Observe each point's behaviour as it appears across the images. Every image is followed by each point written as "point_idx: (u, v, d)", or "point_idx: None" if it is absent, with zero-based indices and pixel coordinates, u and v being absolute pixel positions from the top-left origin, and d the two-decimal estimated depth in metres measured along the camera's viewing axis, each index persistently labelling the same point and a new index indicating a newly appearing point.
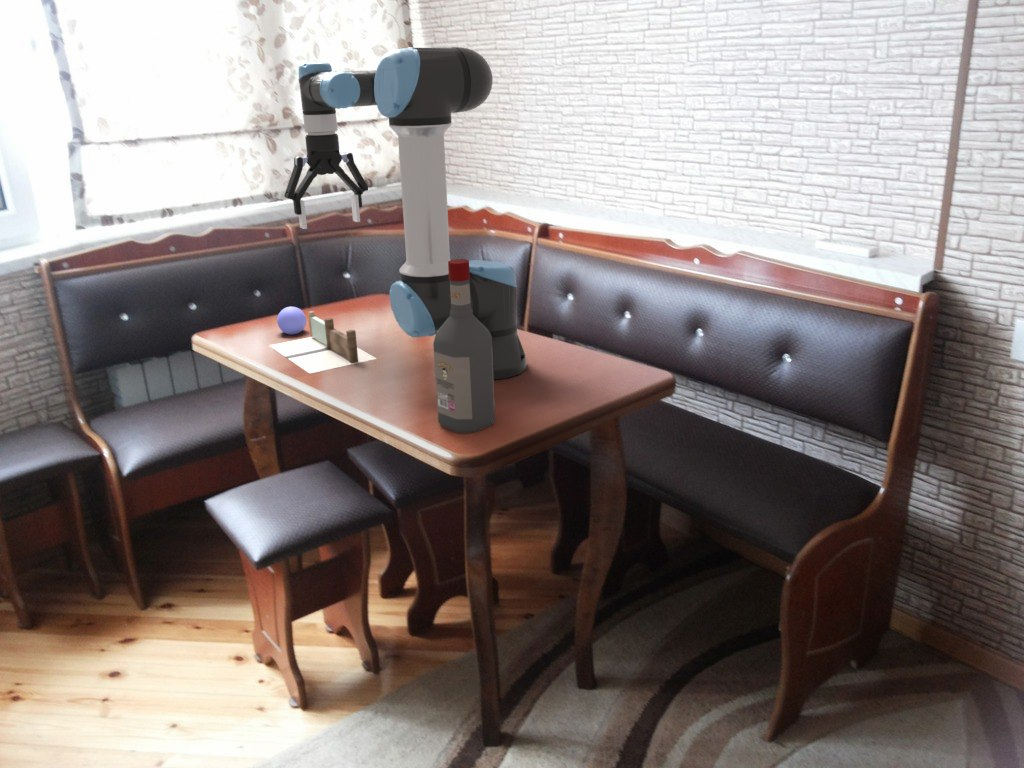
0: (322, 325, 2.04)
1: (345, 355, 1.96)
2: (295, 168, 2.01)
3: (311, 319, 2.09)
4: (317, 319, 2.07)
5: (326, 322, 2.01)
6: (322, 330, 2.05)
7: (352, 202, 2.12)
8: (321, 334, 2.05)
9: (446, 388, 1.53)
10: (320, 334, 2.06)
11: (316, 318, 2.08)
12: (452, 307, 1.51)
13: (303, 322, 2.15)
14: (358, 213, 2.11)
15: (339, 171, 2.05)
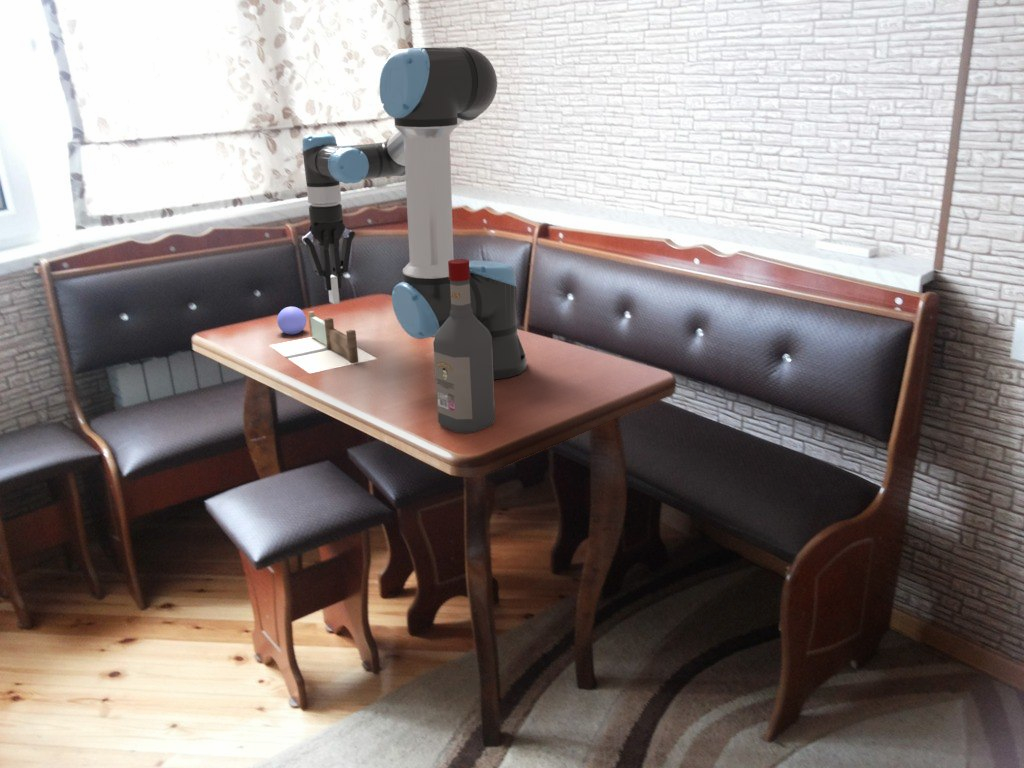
0: (322, 325, 2.04)
1: (345, 355, 1.96)
2: (308, 248, 2.02)
3: (311, 319, 2.09)
4: (317, 319, 2.07)
5: (326, 322, 2.01)
6: (322, 330, 2.05)
7: None
8: (321, 334, 2.05)
9: (446, 388, 1.53)
10: (320, 334, 2.06)
11: (316, 318, 2.08)
12: (452, 307, 1.51)
13: (303, 322, 2.15)
14: (337, 295, 2.08)
15: (335, 244, 2.04)
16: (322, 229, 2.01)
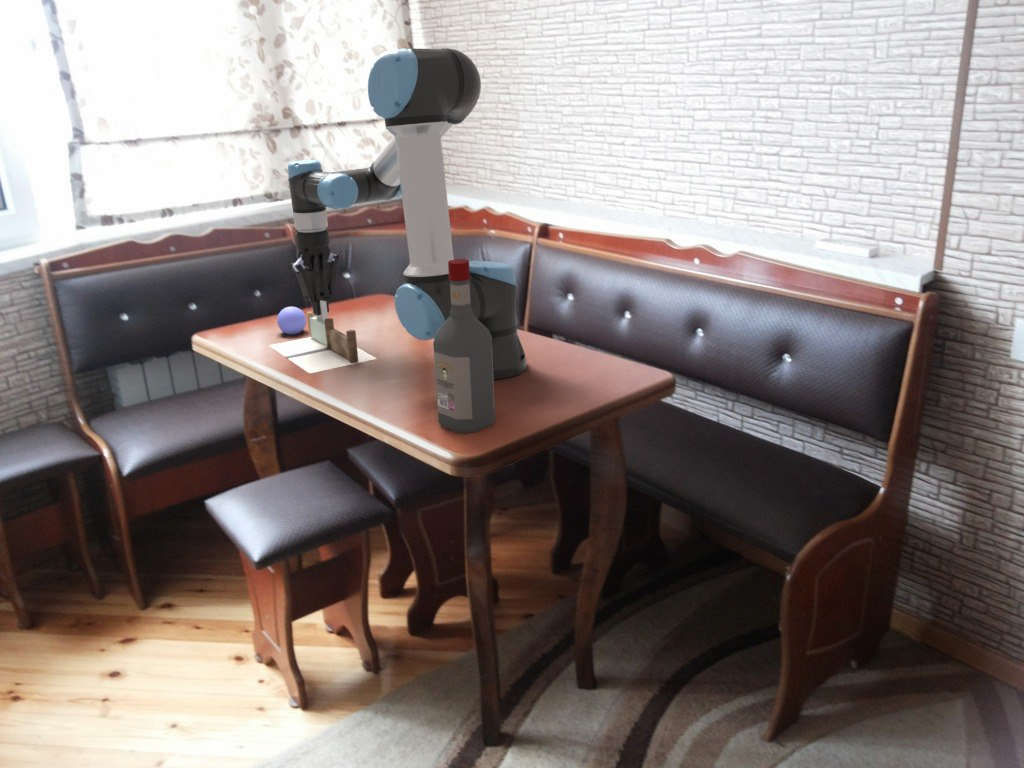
0: (322, 325, 2.04)
1: (345, 355, 1.96)
2: (299, 274, 2.01)
3: (310, 319, 2.09)
4: (316, 319, 2.07)
5: (326, 322, 2.01)
6: (322, 330, 2.04)
7: None
8: (321, 334, 2.05)
9: (446, 388, 1.53)
10: (320, 335, 2.06)
11: (315, 318, 2.08)
12: (452, 307, 1.51)
13: (303, 322, 2.15)
14: None
15: (324, 268, 2.04)
16: (312, 254, 2.01)
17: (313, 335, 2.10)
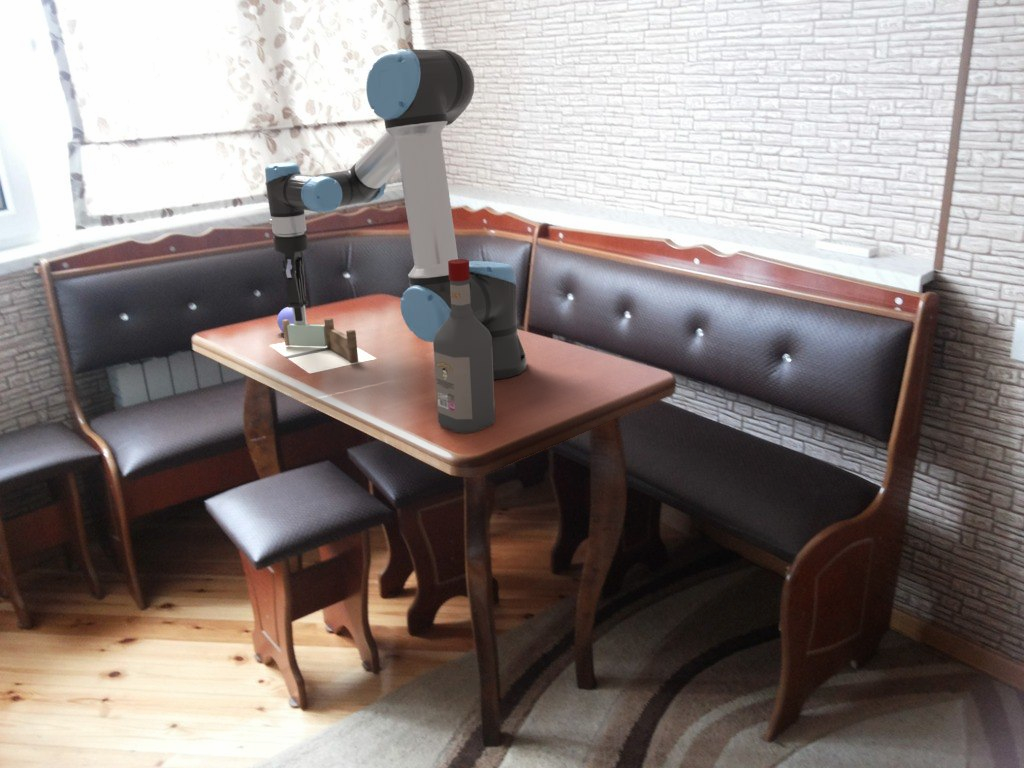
0: (317, 328, 2.02)
1: (345, 355, 1.96)
2: (290, 280, 1.96)
3: (289, 327, 2.03)
4: (301, 325, 2.03)
5: (326, 322, 2.01)
6: (316, 333, 2.02)
7: None
8: (314, 337, 2.03)
9: (446, 388, 1.53)
10: (311, 339, 2.03)
11: (297, 324, 2.03)
12: (452, 307, 1.51)
13: None
14: (306, 323, 2.05)
15: (302, 272, 2.01)
16: (296, 259, 1.98)
17: (294, 342, 2.04)
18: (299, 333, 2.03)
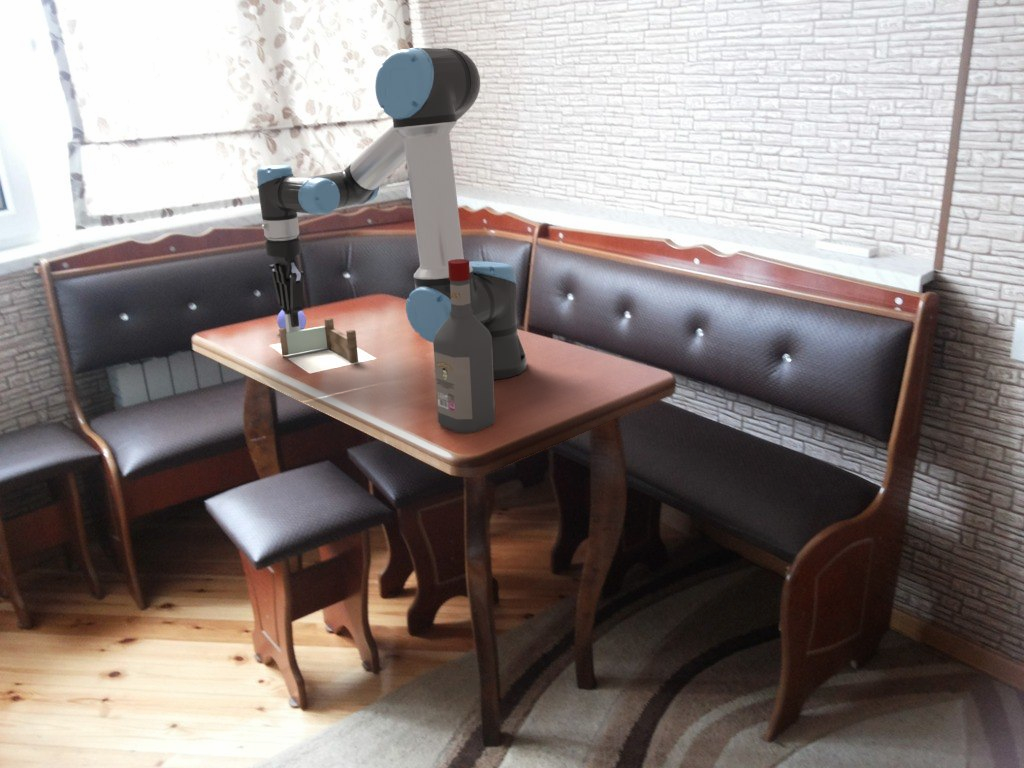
0: (318, 330, 2.00)
1: (345, 355, 1.96)
2: (298, 283, 1.92)
3: (289, 335, 1.97)
4: (299, 330, 1.99)
5: (326, 322, 2.01)
6: (317, 336, 2.00)
7: None
8: (315, 340, 2.01)
9: (446, 388, 1.53)
10: (311, 342, 2.00)
11: (295, 331, 1.98)
12: (452, 307, 1.51)
13: (303, 322, 2.15)
14: None
15: None
16: None
17: (294, 350, 1.99)
18: (299, 339, 1.99)
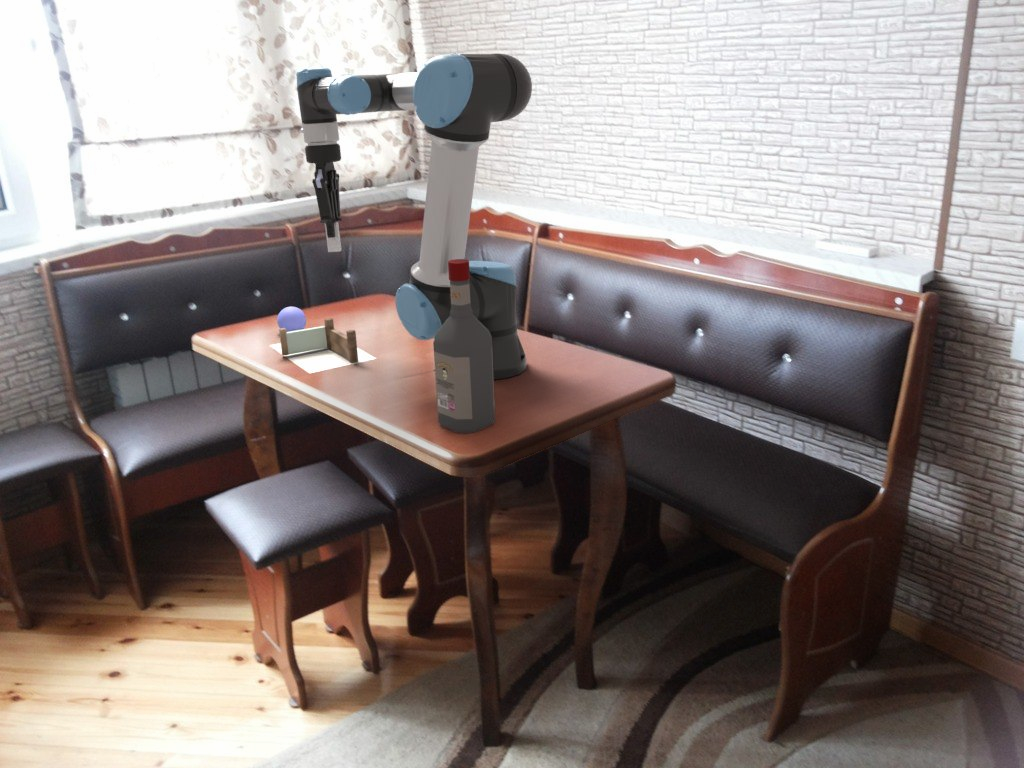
0: (318, 330, 2.00)
1: (345, 355, 1.96)
2: (321, 191, 1.88)
3: (289, 335, 1.97)
4: (299, 330, 1.99)
5: (326, 322, 2.01)
6: (317, 336, 2.00)
7: None
8: (315, 340, 2.01)
9: (446, 388, 1.53)
10: (311, 342, 2.00)
11: (295, 331, 1.98)
12: (452, 307, 1.51)
13: (303, 322, 2.15)
14: None
15: (335, 186, 1.93)
16: (328, 170, 1.90)
17: (294, 350, 1.99)
18: (299, 339, 1.99)
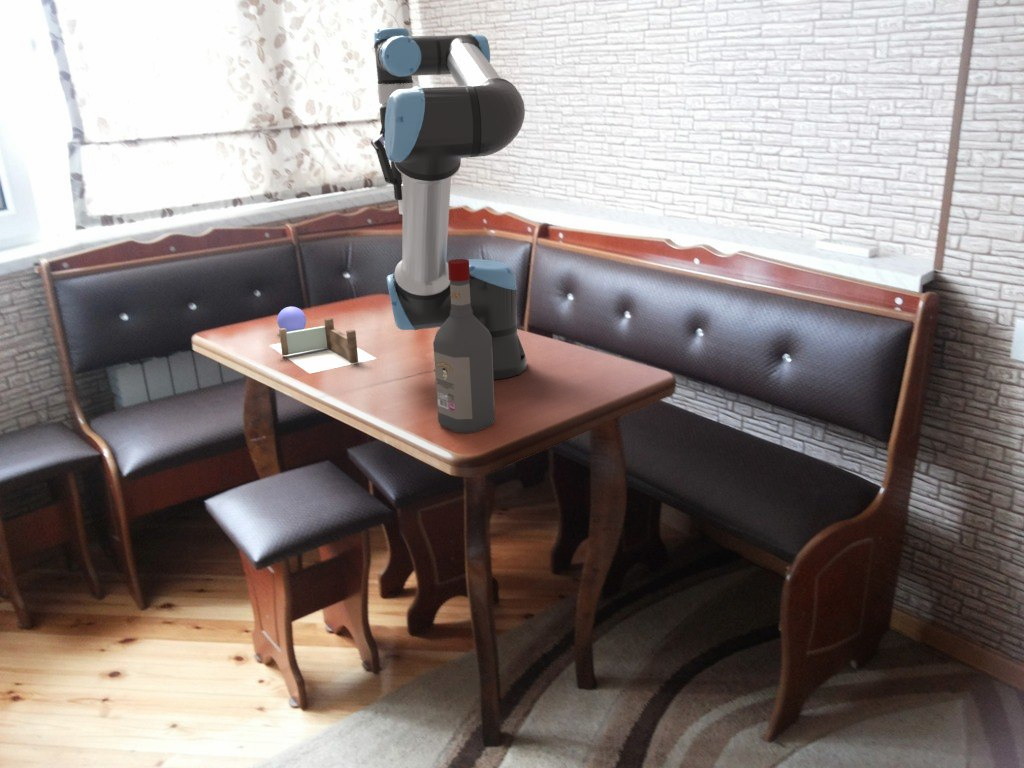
0: (318, 330, 2.00)
1: (345, 355, 1.96)
2: (379, 152, 1.90)
3: (289, 335, 1.97)
4: (299, 330, 1.99)
5: (326, 322, 2.01)
6: (317, 336, 2.00)
7: None
8: (315, 340, 2.01)
9: (446, 388, 1.53)
10: (311, 342, 2.00)
11: (295, 331, 1.98)
12: (452, 307, 1.51)
13: (303, 322, 2.15)
14: None
15: None
16: None
17: (294, 350, 1.99)
18: (299, 339, 1.99)
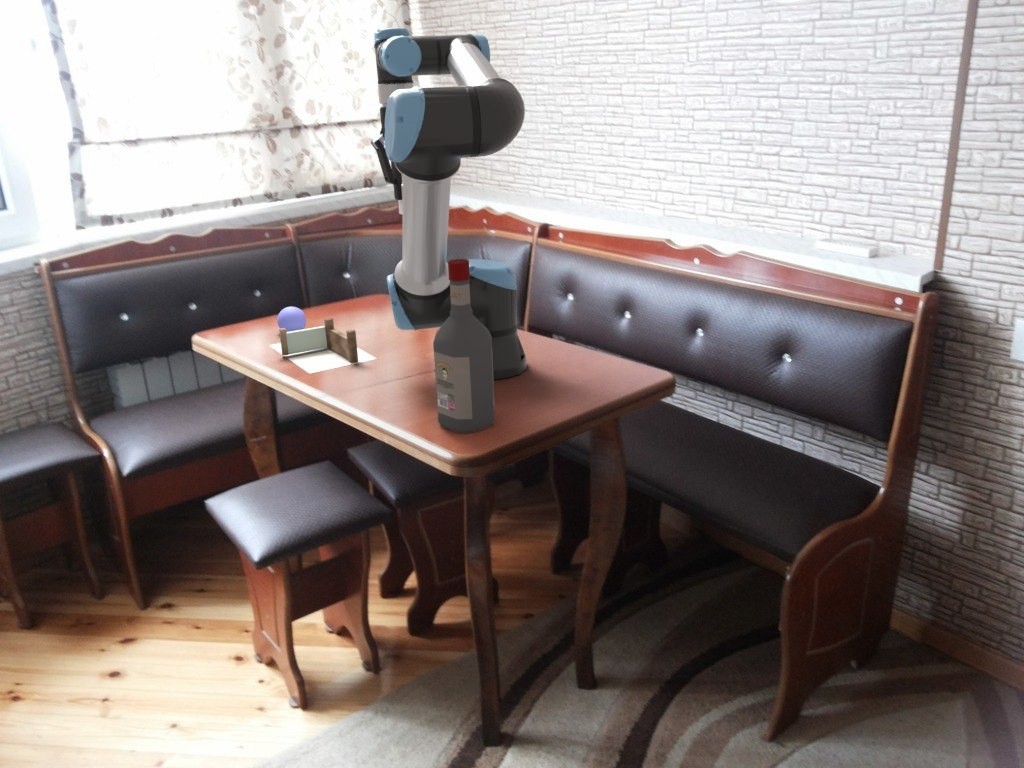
0: (318, 330, 2.00)
1: (345, 355, 1.96)
2: (379, 152, 1.90)
3: (289, 335, 1.97)
4: (299, 330, 1.99)
5: (326, 322, 2.01)
6: (317, 336, 2.00)
7: None
8: (315, 340, 2.01)
9: (446, 388, 1.53)
10: (311, 342, 2.00)
11: (295, 331, 1.98)
12: (452, 307, 1.51)
13: (303, 322, 2.15)
14: None
15: None
16: None
17: (294, 350, 1.99)
18: (299, 339, 1.99)
